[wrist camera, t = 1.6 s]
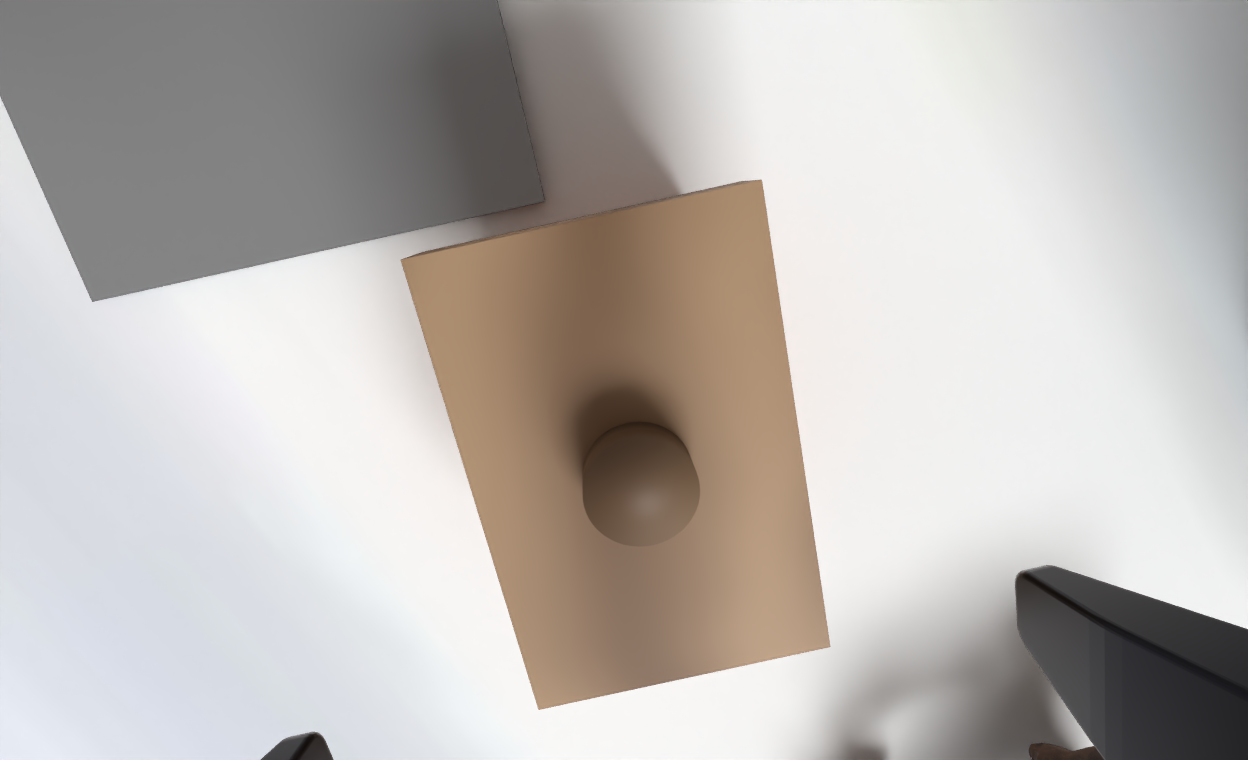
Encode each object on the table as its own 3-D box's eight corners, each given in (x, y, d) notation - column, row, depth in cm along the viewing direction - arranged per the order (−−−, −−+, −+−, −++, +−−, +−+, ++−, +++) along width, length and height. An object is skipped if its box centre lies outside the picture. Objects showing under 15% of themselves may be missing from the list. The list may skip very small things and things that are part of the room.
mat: (445, -218, 16) (441, -227, 16) (545, 201, 19) (544, 201, 18) (-74, -99, 16) (-90, -106, 16) (102, 299, 19) (92, 301, 18)
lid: (741, 181, 14) (776, 178, 12) (806, 602, 18) (845, 676, 15) (423, 252, 15) (385, 265, 12) (543, 658, 18) (535, 743, 15)
